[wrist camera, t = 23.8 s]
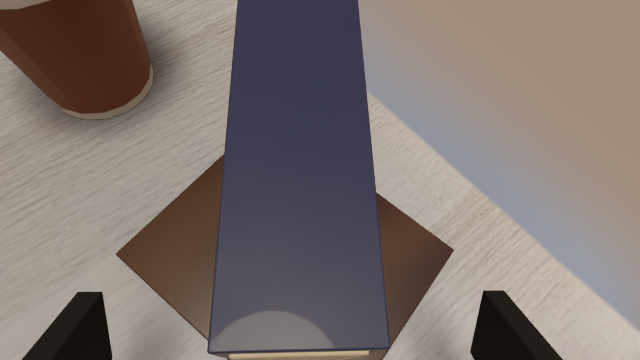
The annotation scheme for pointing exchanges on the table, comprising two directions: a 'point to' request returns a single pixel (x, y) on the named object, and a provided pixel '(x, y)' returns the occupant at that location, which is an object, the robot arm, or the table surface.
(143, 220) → the table surface
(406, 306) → the placemat
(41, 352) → the robot arm
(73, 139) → the table surface
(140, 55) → the coffee cup
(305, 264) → the small book
